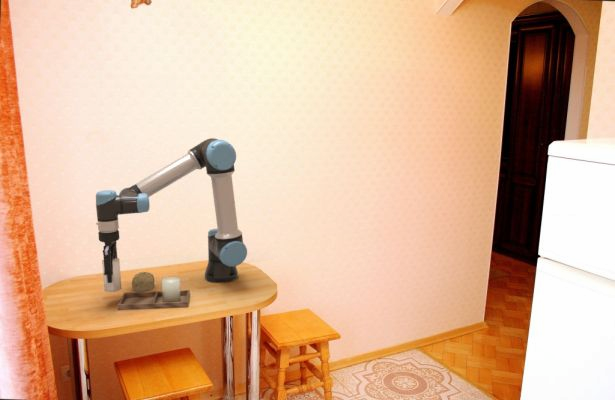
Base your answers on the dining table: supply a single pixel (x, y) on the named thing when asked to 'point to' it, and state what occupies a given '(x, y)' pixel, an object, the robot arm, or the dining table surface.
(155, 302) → the tray
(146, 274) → the decorative item
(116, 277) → the white rounded tapered cylinder
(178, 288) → the white egg-shaped capsule
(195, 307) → the dining table surface
